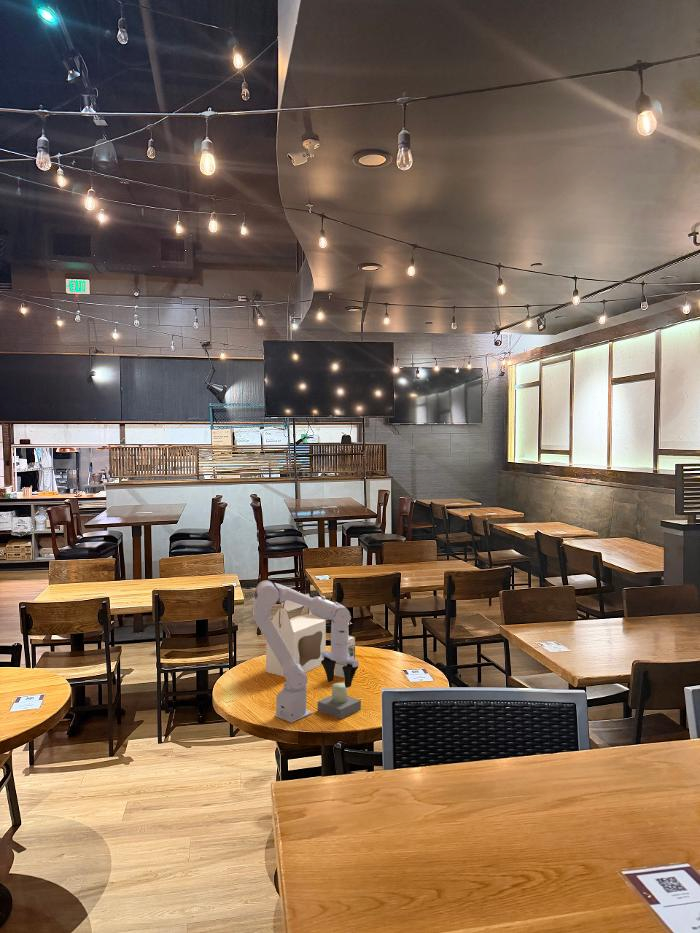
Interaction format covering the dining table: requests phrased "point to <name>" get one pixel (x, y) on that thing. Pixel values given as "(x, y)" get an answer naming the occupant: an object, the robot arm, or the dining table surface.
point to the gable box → (298, 638)
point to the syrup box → (351, 652)
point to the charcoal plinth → (339, 707)
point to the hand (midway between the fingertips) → (339, 684)
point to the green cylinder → (339, 693)
